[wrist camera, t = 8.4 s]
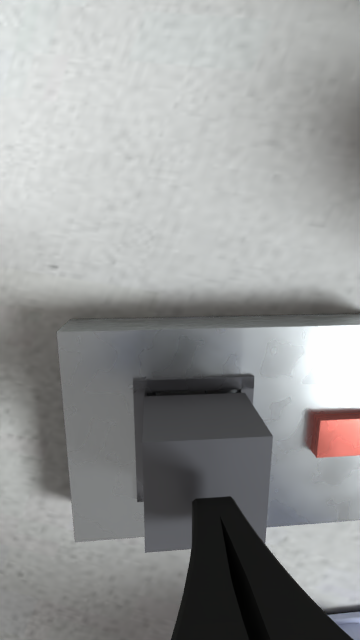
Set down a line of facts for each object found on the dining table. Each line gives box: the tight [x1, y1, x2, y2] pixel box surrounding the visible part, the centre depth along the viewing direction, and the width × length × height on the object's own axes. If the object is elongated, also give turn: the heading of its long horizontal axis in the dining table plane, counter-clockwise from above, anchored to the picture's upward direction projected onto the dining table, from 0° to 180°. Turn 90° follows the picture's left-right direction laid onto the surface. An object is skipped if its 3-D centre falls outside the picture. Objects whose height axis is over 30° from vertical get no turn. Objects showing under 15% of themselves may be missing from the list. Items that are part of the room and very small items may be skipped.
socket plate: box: [56, 314, 360, 542], centre depth 17 cm, size 11×16×3 cm
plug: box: [142, 393, 273, 553], centre depth 15 cm, size 5×5×6 cm
